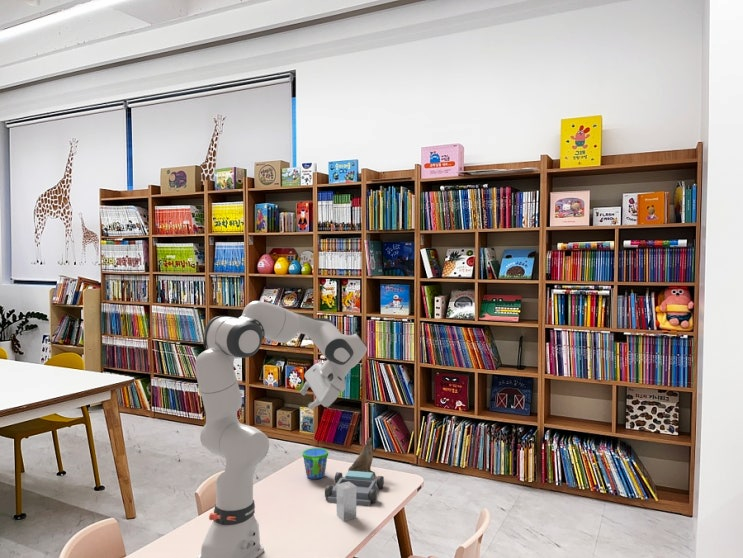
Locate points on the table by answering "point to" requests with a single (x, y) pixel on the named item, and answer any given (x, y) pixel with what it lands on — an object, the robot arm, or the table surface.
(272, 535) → the table surface
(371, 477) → the toy truck
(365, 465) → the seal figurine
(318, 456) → the snack cup
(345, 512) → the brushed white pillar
